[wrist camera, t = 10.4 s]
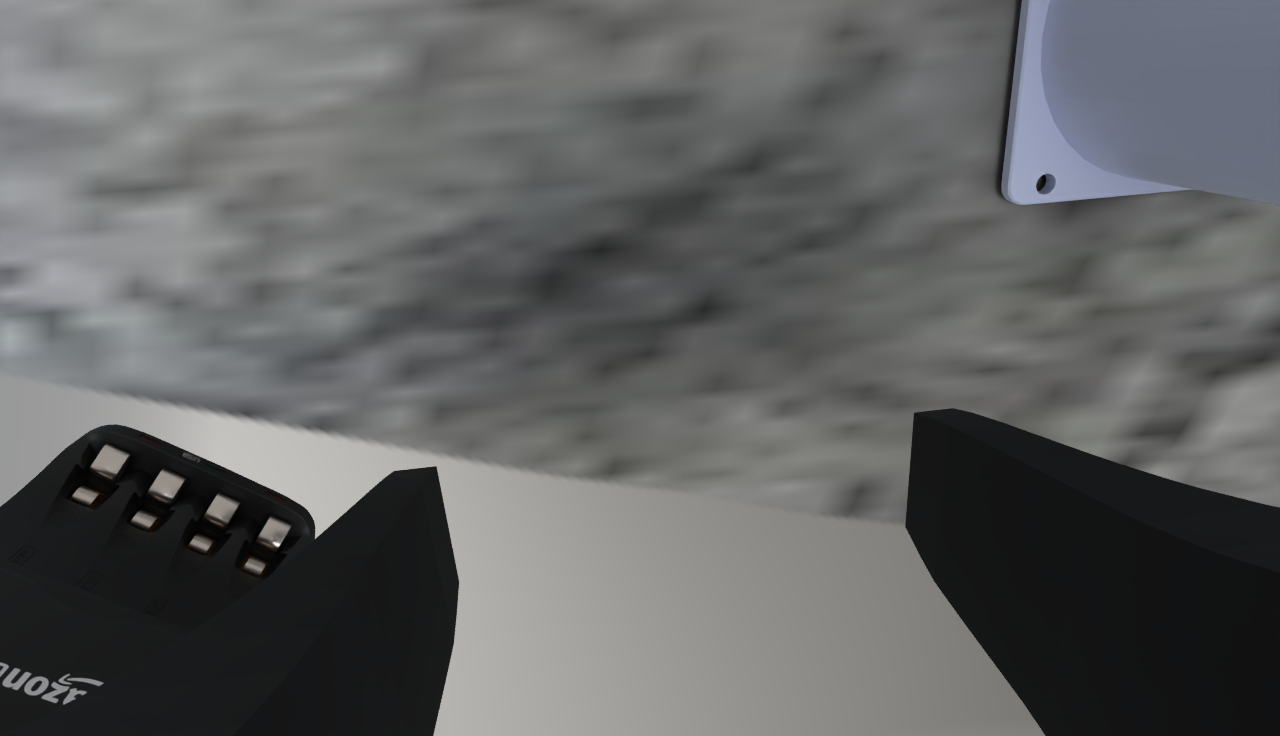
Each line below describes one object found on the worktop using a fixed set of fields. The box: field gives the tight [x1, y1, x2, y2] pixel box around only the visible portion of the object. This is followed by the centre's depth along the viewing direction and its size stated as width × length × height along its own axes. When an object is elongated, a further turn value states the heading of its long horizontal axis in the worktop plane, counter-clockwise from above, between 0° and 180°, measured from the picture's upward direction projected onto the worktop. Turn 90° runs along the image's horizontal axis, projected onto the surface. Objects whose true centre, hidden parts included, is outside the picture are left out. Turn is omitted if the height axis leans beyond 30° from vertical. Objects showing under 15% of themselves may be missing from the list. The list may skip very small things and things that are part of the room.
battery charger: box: [0, 425, 315, 736], centre depth 15 cm, size 7×4×11 cm, turn 56°
